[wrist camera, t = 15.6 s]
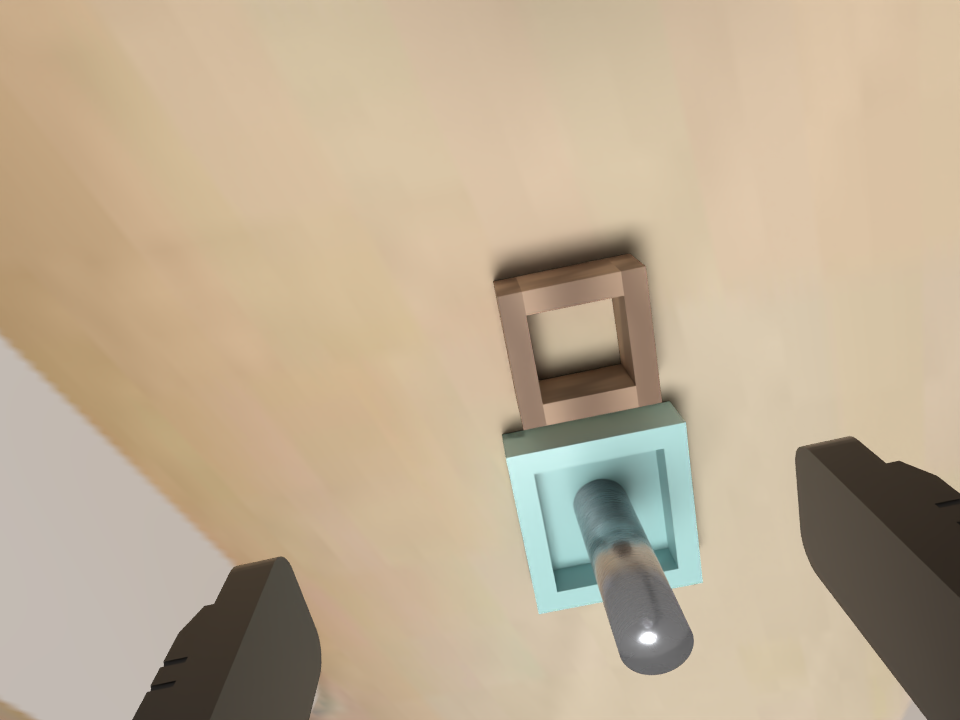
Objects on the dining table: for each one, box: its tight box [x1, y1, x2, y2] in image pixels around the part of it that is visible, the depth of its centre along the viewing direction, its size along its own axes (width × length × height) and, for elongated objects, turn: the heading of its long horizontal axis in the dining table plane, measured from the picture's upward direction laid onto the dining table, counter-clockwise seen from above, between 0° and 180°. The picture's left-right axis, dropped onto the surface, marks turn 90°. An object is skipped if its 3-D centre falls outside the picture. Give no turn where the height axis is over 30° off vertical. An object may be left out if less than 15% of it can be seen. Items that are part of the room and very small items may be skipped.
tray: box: [502, 401, 703, 614], centre depth 49 cm, size 12×13×4 cm
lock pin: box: [573, 479, 694, 675], centre depth 43 cm, size 4×4×14 cm
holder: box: [493, 254, 662, 430], centre depth 44 cm, size 9×9×4 cm
